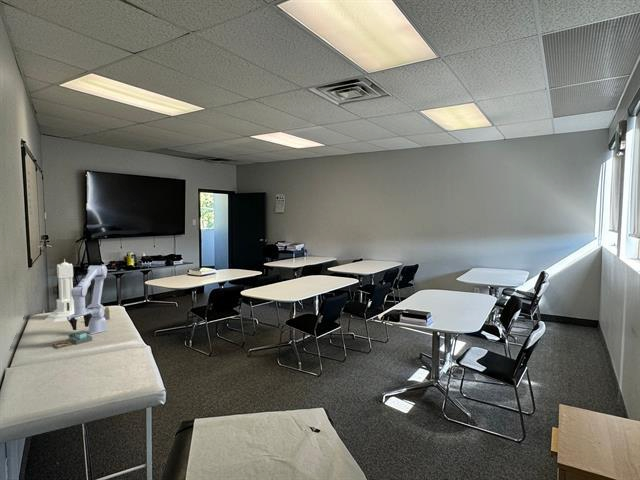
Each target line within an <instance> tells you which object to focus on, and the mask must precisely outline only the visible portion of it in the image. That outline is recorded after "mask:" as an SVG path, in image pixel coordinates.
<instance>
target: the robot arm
mask: <svg viewBox="0 0 640 480" xmlns="http://www.w3.org/2000/svg"><path fill="white" fill-rule="evenodd" d="M107 275H108V268H107V266H106V265H105V264H104V265H103V264H102V265H89V266H88V268H87V273H86V276H85V277H84V278H82V279H81V280H80V281H79V283H78V284H77V285H76V286H73V289H72V291H71V295H72V297H73V300H74V314H73V315H70V316H67V320H68V322H69V324H70V326H71V327H72V331H77V329H78V327H77V324H78V323H77V322H78V319H75V318H77V317H81V316H83V317H82V318H83V321H84V327H86V328H88V330H86V333H88V334H89V335H94V334H99V333H103V332H107V320H106V319H105V317H103V316H104V310H105V307H104V305H103V304H101V301H102V300H101V299H102V293H103V287H104V280H105V279H106V278H107ZM92 280H94V286H93V291H92V297H91V303H90V304H89V305H87V306H86V295H87V293H88V289H89V288H90V286H91V284H92V283H91V282H92Z"/></svg>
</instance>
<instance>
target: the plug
mask: <svg viewBox="0 0 640 480" xmlns="http://www.w3.org/2000/svg"><path fill="white" fill-rule="evenodd" d="M79 331H80V332H78V331H75V332H76V338H77V339H81V338H85V337H87V335H88V334H87V331H85V330H84V331H82V330H79ZM86 334H87V335H86Z"/></svg>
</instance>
